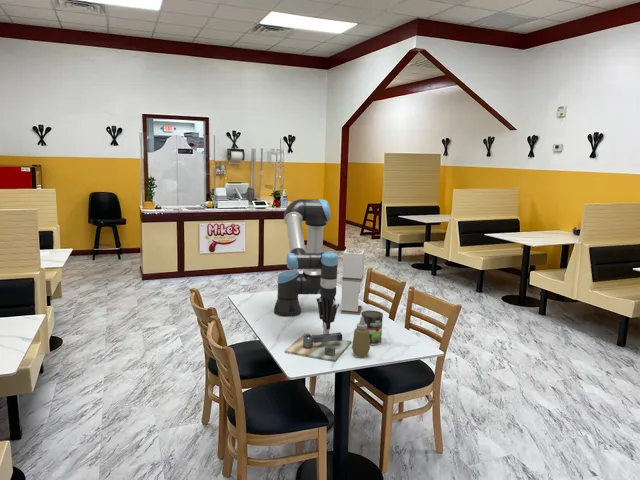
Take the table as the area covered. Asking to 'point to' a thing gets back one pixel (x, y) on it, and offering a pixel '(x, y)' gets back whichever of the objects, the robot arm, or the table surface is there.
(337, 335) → the latch bar
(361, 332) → the squeeze bottle
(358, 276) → the white square tower
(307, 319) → the table surface
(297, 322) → the table surface
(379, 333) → the coffee can
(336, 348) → the plate
